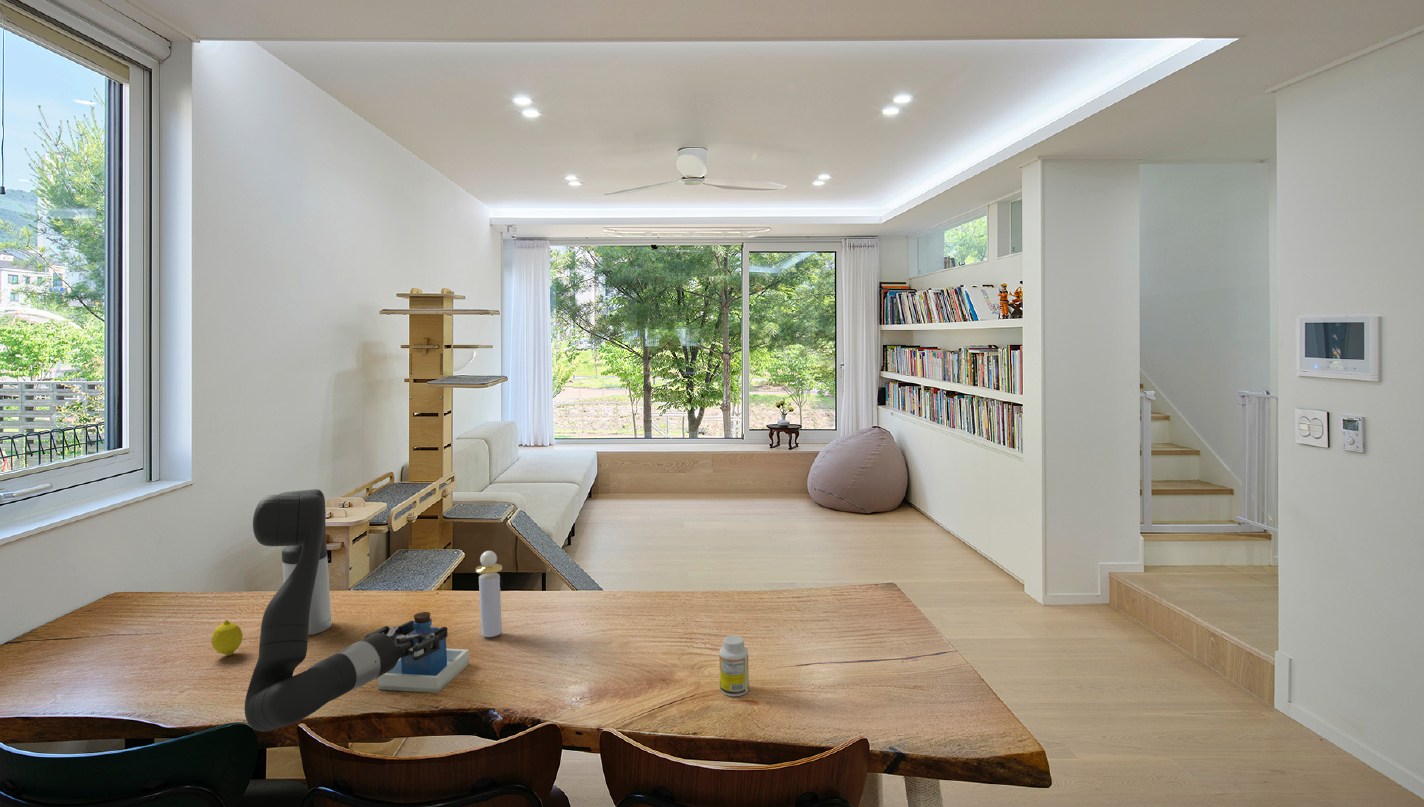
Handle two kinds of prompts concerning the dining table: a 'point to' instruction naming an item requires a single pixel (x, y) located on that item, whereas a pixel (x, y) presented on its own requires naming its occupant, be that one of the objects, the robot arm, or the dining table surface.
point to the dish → (425, 683)
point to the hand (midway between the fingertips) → (429, 628)
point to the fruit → (227, 638)
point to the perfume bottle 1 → (431, 662)
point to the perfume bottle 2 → (490, 594)
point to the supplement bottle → (734, 667)
